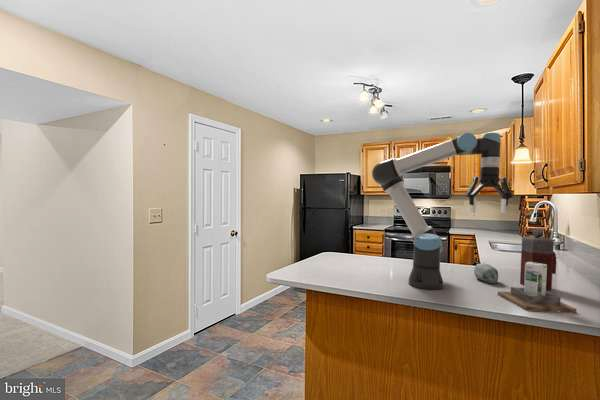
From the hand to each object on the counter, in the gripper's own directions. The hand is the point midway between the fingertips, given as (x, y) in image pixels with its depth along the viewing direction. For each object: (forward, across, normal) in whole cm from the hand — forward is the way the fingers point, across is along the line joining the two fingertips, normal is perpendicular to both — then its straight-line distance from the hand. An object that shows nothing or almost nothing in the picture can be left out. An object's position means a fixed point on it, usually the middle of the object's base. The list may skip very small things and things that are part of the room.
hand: (488, 212), depth 144 cm
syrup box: (+33, +8, -21) cm, 40 cm away
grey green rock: (+35, +6, +11) cm, 37 cm away
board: (+35, +8, -21) cm, 41 cm away
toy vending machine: (+35, +26, +3) cm, 44 cm away
